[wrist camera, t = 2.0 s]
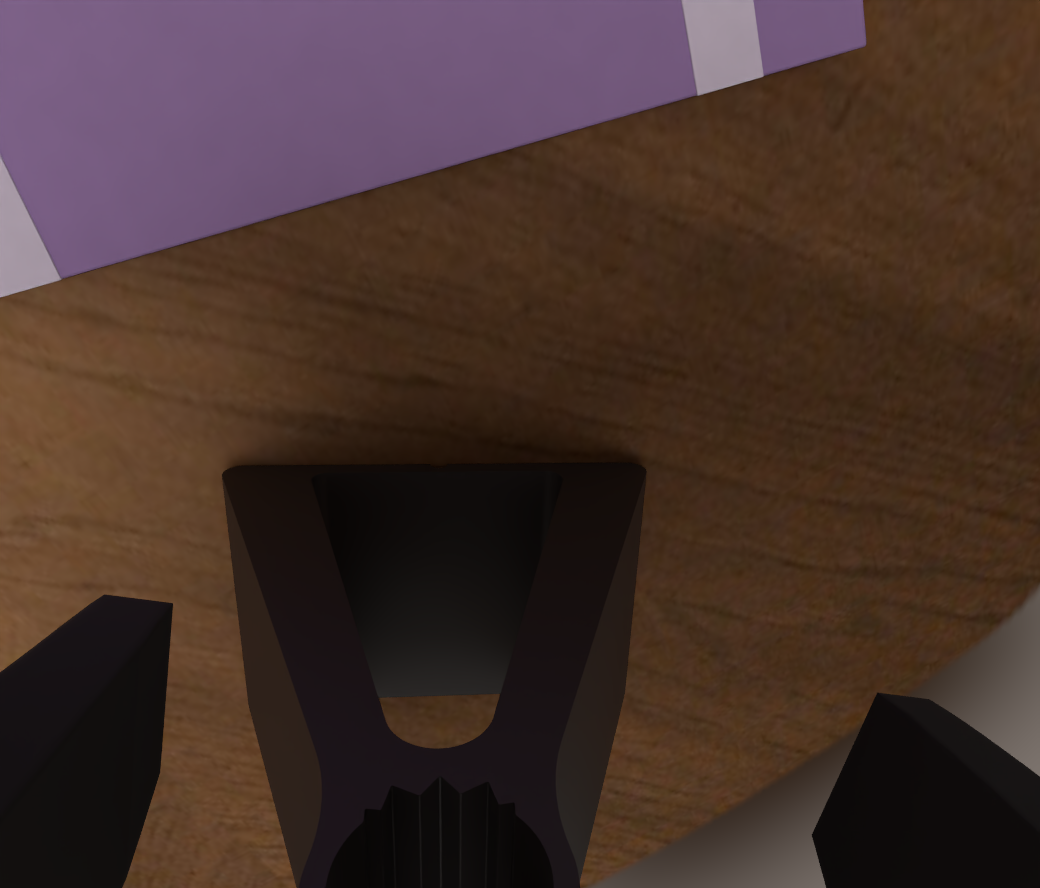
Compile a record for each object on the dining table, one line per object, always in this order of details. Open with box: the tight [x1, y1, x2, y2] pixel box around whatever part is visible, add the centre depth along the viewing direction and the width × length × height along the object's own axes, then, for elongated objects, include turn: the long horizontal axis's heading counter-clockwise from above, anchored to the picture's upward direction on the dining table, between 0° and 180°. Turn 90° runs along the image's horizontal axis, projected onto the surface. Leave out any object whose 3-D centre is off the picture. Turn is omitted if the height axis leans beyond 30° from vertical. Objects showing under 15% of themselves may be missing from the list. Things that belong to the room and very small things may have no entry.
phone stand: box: [222, 463, 647, 888], centre depth 15 cm, size 9×6×12 cm, turn 88°
